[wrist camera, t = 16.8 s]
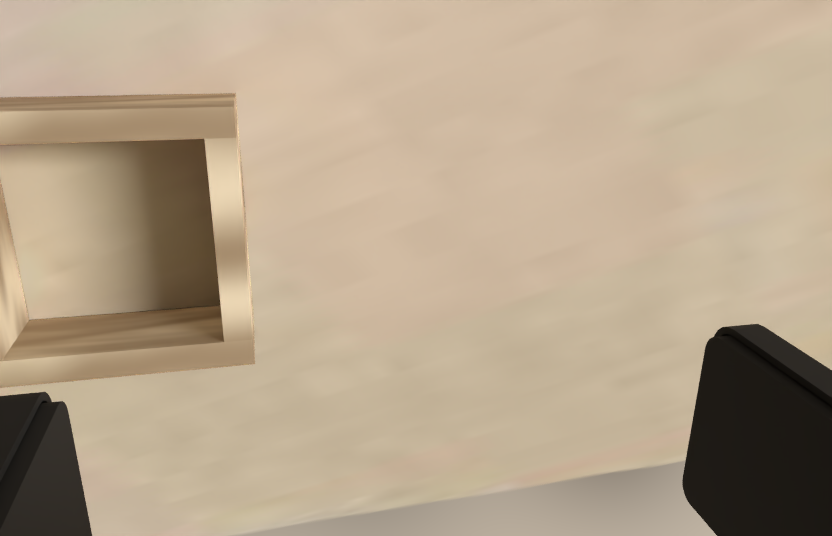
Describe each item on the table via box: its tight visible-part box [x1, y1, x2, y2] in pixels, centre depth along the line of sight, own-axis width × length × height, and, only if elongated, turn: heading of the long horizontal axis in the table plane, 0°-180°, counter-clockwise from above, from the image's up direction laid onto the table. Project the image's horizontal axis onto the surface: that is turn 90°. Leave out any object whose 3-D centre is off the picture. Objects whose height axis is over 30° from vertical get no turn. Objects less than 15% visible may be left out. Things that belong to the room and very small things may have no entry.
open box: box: [0, 93, 255, 388], centre depth 38 cm, size 14×14×5 cm
